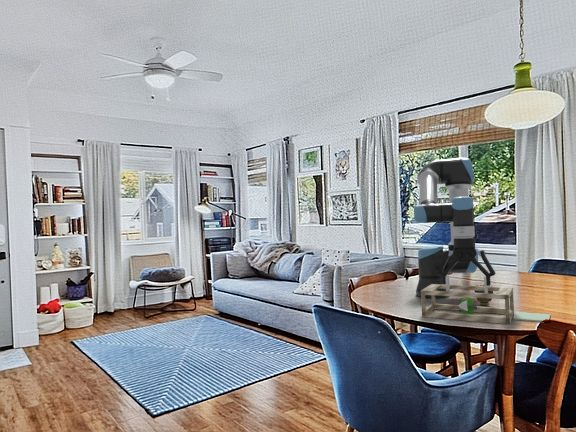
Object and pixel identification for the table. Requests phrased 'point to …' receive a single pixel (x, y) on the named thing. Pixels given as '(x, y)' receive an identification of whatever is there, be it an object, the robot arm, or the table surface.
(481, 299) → the cup
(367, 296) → the table surface
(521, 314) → the felt pad
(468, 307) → the geometric puzzle
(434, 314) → the crate
